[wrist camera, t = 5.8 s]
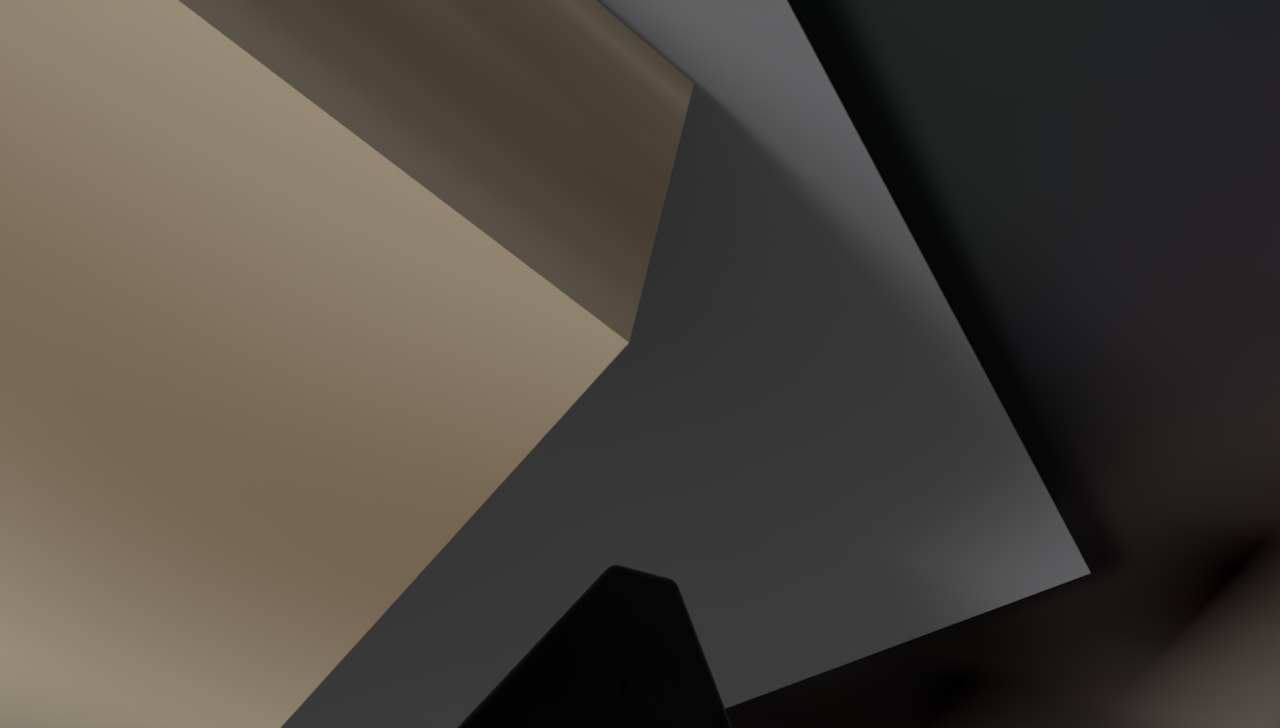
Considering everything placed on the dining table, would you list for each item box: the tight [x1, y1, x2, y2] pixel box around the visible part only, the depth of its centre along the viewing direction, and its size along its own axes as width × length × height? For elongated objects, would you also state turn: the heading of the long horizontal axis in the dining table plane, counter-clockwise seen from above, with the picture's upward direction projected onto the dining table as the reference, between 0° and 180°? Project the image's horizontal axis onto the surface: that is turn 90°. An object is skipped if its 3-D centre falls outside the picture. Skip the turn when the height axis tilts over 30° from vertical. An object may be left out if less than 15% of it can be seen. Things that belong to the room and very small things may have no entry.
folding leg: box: [0, 0, 694, 728], centre depth 8 cm, size 15×3×5 cm, turn 141°
